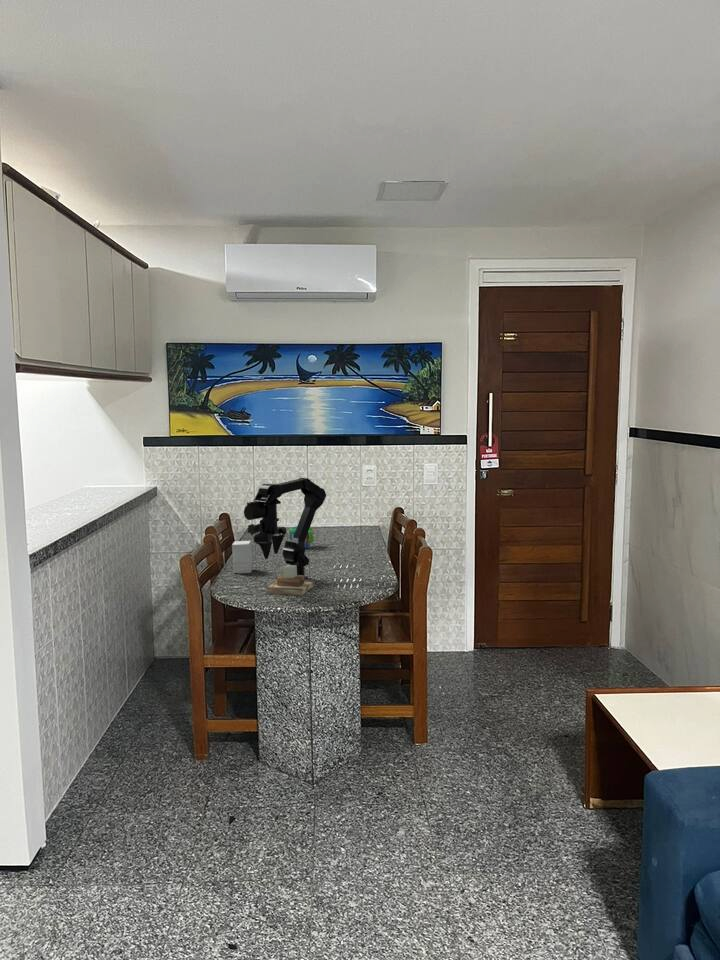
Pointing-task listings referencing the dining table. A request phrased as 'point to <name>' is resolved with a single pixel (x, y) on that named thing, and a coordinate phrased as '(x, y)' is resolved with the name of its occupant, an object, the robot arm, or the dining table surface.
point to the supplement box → (242, 556)
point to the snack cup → (309, 536)
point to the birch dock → (290, 588)
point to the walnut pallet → (290, 581)
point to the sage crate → (290, 571)
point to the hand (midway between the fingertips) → (271, 556)
